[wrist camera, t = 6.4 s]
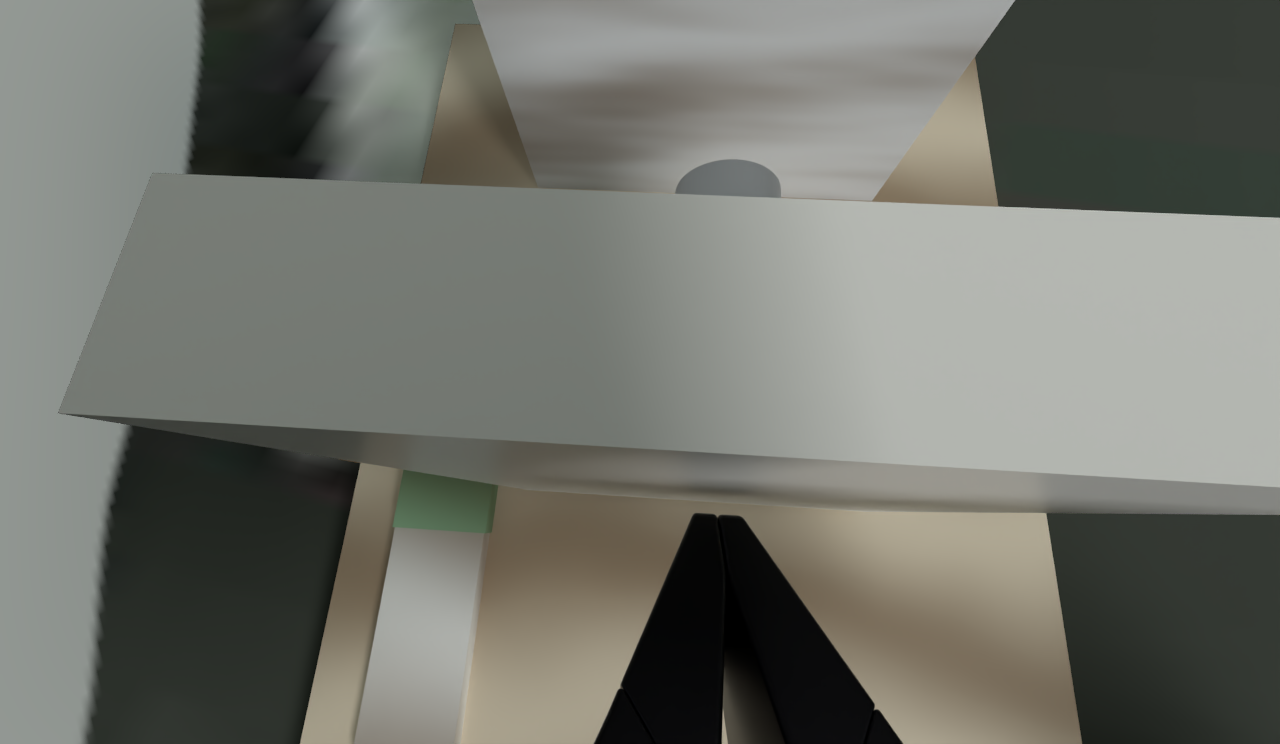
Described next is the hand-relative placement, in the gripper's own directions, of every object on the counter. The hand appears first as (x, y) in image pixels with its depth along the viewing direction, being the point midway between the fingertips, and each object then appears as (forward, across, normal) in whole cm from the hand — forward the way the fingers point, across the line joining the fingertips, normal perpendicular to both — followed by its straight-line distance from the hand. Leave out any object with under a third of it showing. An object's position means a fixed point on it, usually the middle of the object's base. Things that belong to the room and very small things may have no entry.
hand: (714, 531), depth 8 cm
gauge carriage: (+6, +2, +1) cm, 6 cm away
